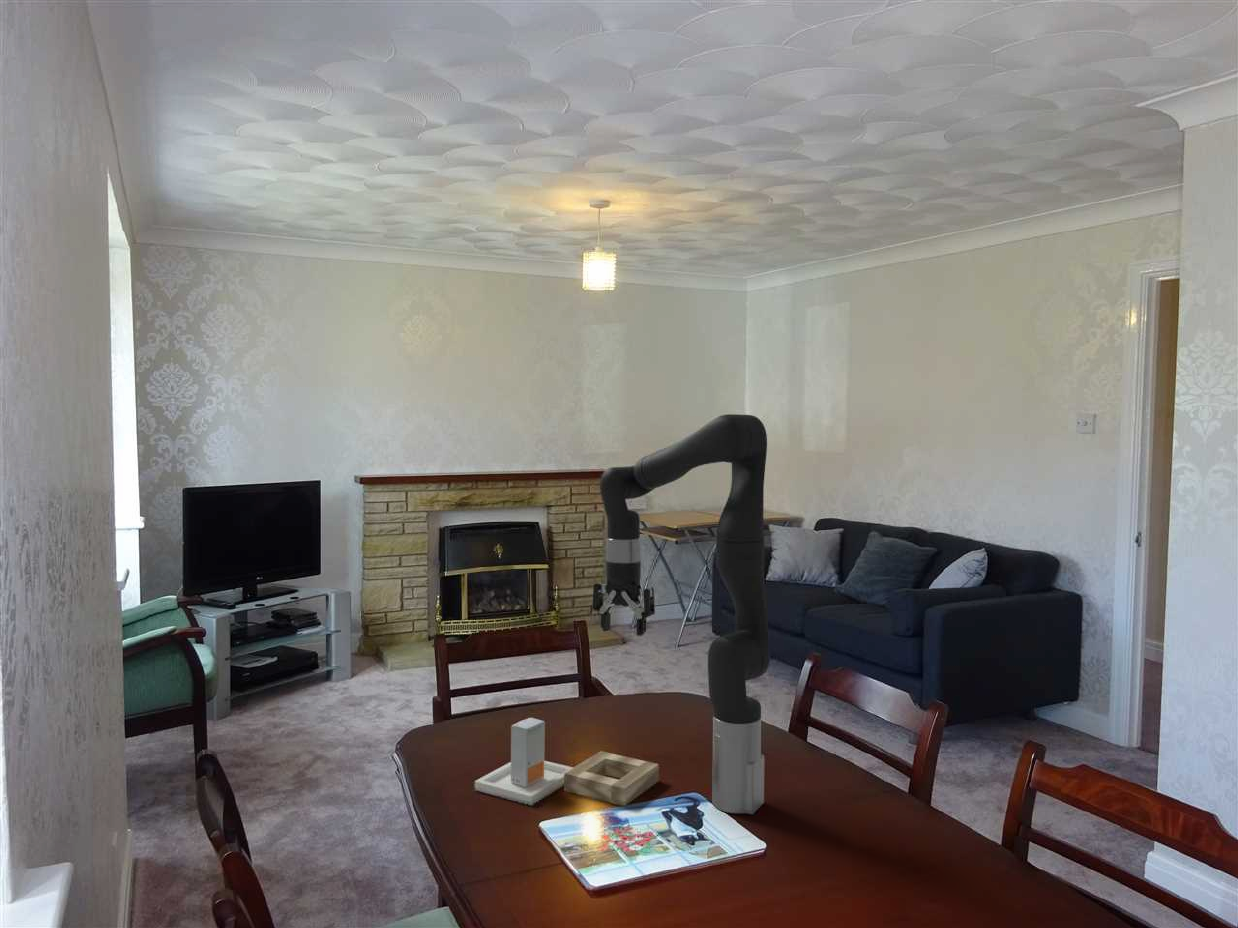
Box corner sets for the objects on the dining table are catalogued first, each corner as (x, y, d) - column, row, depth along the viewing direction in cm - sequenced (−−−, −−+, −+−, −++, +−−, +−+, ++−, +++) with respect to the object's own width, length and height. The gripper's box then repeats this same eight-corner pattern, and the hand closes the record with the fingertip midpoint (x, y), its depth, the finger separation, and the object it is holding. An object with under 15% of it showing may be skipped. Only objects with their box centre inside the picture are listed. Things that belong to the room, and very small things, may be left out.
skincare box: (526, 788, 175) (526, 729, 174) (510, 783, 177) (510, 724, 177) (545, 778, 180) (545, 720, 179) (529, 773, 182) (529, 716, 182)
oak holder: (658, 780, 180) (658, 764, 180) (624, 806, 168) (624, 788, 168) (600, 766, 187) (600, 750, 187) (564, 790, 175) (564, 773, 175)
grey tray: (576, 776, 182) (576, 768, 182) (531, 805, 168) (531, 796, 168) (522, 763, 189) (522, 755, 189) (474, 789, 175) (474, 781, 175)
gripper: (660, 559, 189) (660, 633, 190) (604, 554, 196) (604, 625, 197) (644, 563, 182) (643, 640, 183) (586, 558, 190) (586, 632, 190)
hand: (623, 632), depth 190 cm, fingers open, 8 cm apart
